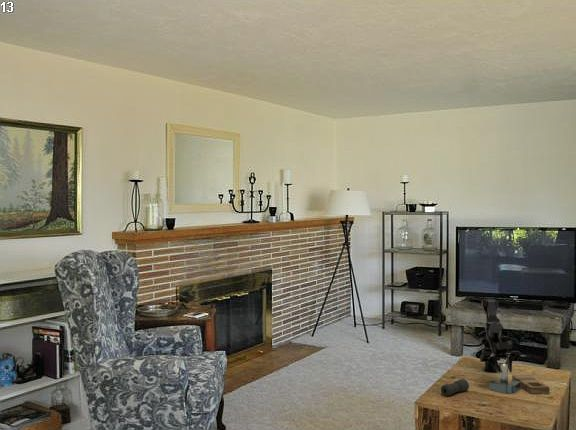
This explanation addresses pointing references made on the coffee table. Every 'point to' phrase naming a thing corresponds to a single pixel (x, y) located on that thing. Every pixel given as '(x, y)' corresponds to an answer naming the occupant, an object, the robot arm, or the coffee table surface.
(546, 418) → the coffee table surface
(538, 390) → the slotted block
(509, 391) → the v block
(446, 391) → the flashlight
